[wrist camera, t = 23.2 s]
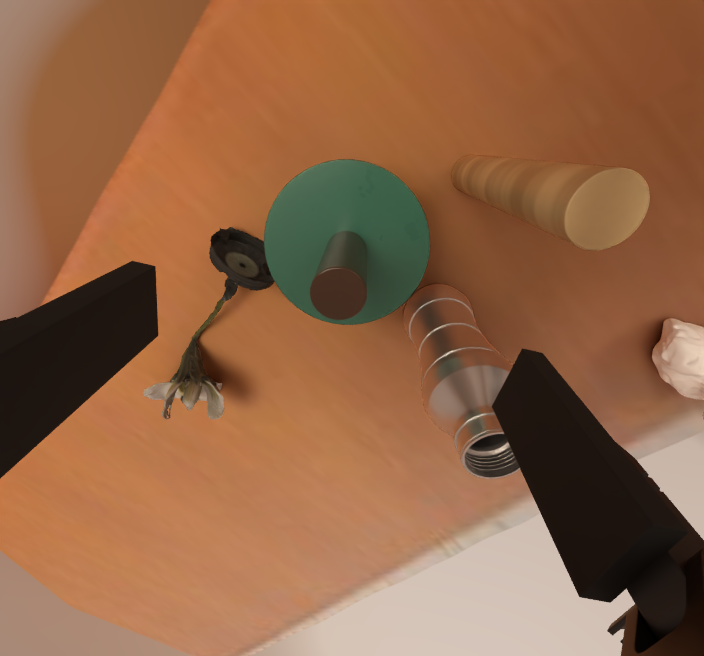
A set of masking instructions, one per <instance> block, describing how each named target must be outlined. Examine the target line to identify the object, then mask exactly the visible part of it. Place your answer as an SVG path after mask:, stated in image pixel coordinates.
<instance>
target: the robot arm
mask: <svg viewBox="0 0 704 656" xmlns="http://www.w3.org/2000/svg"><path fill="white" fill-rule="evenodd" d="M157 336H158V318H157V294H156V271H155V266H152V265H148V264H143V263H139V262H135V261H131V262H129V263H127V264H125V265H123V266H121V267H119V268H117V269H115V270H113V271H111V272H109V273H107V274H105V275H103V276H101V277H99V278H97V279H95V280H93V281H91V282H89V283H87V284H85V285H83V286H81V287H79V288H77V289H75V290H73V291H71V292H69V293H67V294H65V295H63V296H60V297H58V298H56V299H54V300H52V301H50V302H48V303H46V304H44V305H42V306H40V307H38V308H36V309H34V310H32V311H30V312H28V313H26V314H24V315H22V316H20V317H18V318H16V317H14V318H11V319H7V320H3V321H0V478H1V477H2V476H4V475H5V474H6V473H7V472H8V471H9V470H10V469H11V468H12V467H14V466H15V465H16V464H17V463H18V462H19V461H20V460H21V459H22V458H23V457H25V456H26V455H27V454H28V453H29V452H30V451H31V450H32V449H33V448H34V447H36V446H37V445H38V444H39V443H40V442H41V441H42V440H43V439H44V438H46V437H47V436H48V435H49V434H50V433H51V432H52V431H53V430H54V429H55V428H57V427H58V426H59V425H60V424H61V423H62V422H63V421H64V420H65V419H67V418H68V417H69V416H70V415H71V414H72V413H73V412H74V411H75V410H76V409H78V408H79V407H80V406H81V405H82V404H83V403H84V402H85V401H86V400H88V399H89V398H90V397H91V396H92V395H93V394H94V393H95V392H96V391H97V390H99V389H100V388H101V387H102V386H103V385H104V384H105V383H106V382H107V381H108V380H110V379H111V378H112V377H113V376H114V375H115V374H116V373H117V372H118V371H120V370H121V369H122V368H123V367H124V366H125V365H126V364H127V363H128V362H129V361H131V360H132V359H133V358H134V357H135V356H136V355H137V354H138V353H139V352H141V351H142V350H143V349H144V348H145V347H146V346H147V345H148V344H149V343H150V342H152V341H153V340H154V339H155V338H156V337H157ZM492 408H493V411H494V413H495V415H496V417H497V419H498V421H499V424H500V426H501V428H502V430H503V432H504V434H505V437H506V439H507V441H508V443H509V445H510V447H511V450H512V452H513V454H514V456H515V458H516V460H517V463H518V465H519V467H520V469H521V471H522V473H523V476H524V478H525V480H526V482H527V484H528V486H529V489H530V491H531V493H532V495H533V497H534V500H535V502H536V504H537V506H538V508H539V510H540V513H541V515H542V517H543V519H544V521H545V523H546V526H547V528H548V530H549V532H550V534H551V536H552V538H553V541H554V543H555V545H556V547H557V549H558V552H559V554H560V556H561V558H562V560H563V562H564V565H565V567H566V569H567V571H568V573H569V575H570V577H571V580H572V582H573V584H574V586H575V589H576V590H577V593H578V595H579V597H582V598H588V599H593V600H599V601H604V602H612V601H613V600H614V599H615V598H616V597H617V596H618V595H619V594H621V593H622V592H623V591H624V590H625V589H626V588H627V590H628V592H629V594H630V595H631V597H632V599H633V600H634V602H635V605H634V606H632V607H631V608H630V609H629V610H628V611H626V612H625V613H624V614H623V615H622V616H620V617H619V618H618V619H617V620H616V621H614V622H613V623H612V624H611V625H610V627H609V629H608V632H609V633H610V634H612V635H614V634H615V633H616V632H617V631H619V630H620V629H625V630H624V637H623V639H622V640H621V643H622V644H623V645H622V652H621V656H704V540H703V539H702V538H701V537H700V535H699V534H698V533H697V532H696V531H695V530H694V528H693V527H692V526H691V525H690V523H689V522H688V521H687V520H686V519H685V518H684V516H683V515H682V514H681V513H680V512H679V510H678V509H677V508H676V507H675V506H674V504H673V503H672V502H671V501H670V500H669V499H668V497H667V496H666V495H665V494H664V492H661V491H660V488H659V487H658V485H657V484H656V483H655V482H654V481H653V479H652V478H650V477H648V474H647V472H646V471H645V470H644V469H643V468H642V466H641V465H640V464H639V463H638V462H637V460H636V459H635V458H634V457H633V456H632V455H630V454H629V453H628V452H627V451H626V450H624V449H623V448H622V447H621V446H620V445H618V444H617V443H616V442H615V441H614V440H613V439H612V437H611V436H610V435H609V434H608V433H607V431H606V430H605V429H604V428H603V426H602V425H601V424H600V423H599V422H598V420H597V419H596V418H595V417H594V415H593V414H592V413H591V412H590V411H589V409H588V408H587V407H586V406H585V404H584V403H583V402H582V401H581V400H580V398H579V397H578V396H577V395H576V394H575V392H574V391H573V390H572V389H571V387H570V386H569V385H568V384H567V383H566V381H565V380H564V379H563V378H562V376H561V375H560V374H559V373H558V372H557V370H556V369H555V368H554V367H553V365H552V364H551V363H550V362H549V361H548V359H547V358H546V357H545V356H544V354H543V353H540V352H536V351H531V350H527V349H522V350H521V352H520V354H519V356H518V358H517V360H516V361H515V363H514V365H513V367H512V369H511V371H510V373H509V375H508V376H507V378H506V380H505V382H504V384H503V386H502V388H501V390H500V391H499V393H498V395H497V397H496V399H495V401H494V403H493V405H492Z"/></svg>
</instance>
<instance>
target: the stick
mask: <svg viewBox="0 0 704 656" xmlns="http://www.w3.org/2000/svg"><path fill="white" fill-rule="evenodd" d="M451 178H452V182H453V185H454V186H455V187H456V188H457V189H458V190H460V191H462V192H464V193H466V194H468V195H470V196H472V197H474V198H476V199H478V200H481V201H483V202H485V203H487V204H489V205H491V206H493V207H495V208H497V209H499V210H501V211H504V212H506V213H508V214H510V215H512V216H514V217H516V218H518V219H520V220H522V221H524V222H527V223H529V224H531V225H533V226H535V227H537V228H539V229H541V230H543V231H545V232H547V233H550V234H552V235H554V236H556V237H558V238H560V239H562V240H564V241H566V242H568V243H570V244H573V245H575V246H577V247H579V248H581V249H584V250H590V251H597V250H603V249H608V248H610V247H613V246H615V245H617V244H619V243H621V242H623V241H624V240H625V239H627V238H628V237H629V236H630V235H631V234H633V232H634V231H635V230H636V229H637V228H638V227H639V225H640V224H641V223H642V221H643V219H644V217H645V215H646V213H647V210H648V207H649V202H650V192H649V187H648V185H647V183H646V181H645V179H644V178H643V177H642V176H641V175H640V174H639V173H638V172H636V171H634V170H632V169H629V168H623V167H611V166H599V165H588V164H576V163H564V162H552V161H540V160H528V159H516V158H505V157H493V156H481V155H467V156H464V157H462V158H461V159H459V160H458V161H457V162H456V164H455V165H454V167H453V170H452V174H451Z"/></svg>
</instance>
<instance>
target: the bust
mask: <svg viewBox="0 0 704 656" xmlns="http://www.w3.org/2000/svg"><path fill="white" fill-rule="evenodd" d="M652 359H653V362H654V364H655V365H656V367H657V369H658V372H659V375H660V377H661V378H662V379H663V380H664V381H665V382H667V383H669V384H670V385H671V386H673V387H674V388H675V389H676V390H677V391H678V393H680V394H681V395H683V396H685V397H688V398H693V399H702V400H704V327H702V326H698V325H695V324H692V323H684V322H682V321H680V320H677V319H673V318H669V319H666V320H665V321H664V323H663V329H662V336H661V339H660V341H659V342H658V343H657V344H656V345H655V347H654V349H653V352H652ZM703 419H704V412H703Z"/></svg>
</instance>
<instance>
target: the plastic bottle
mask: <svg viewBox="0 0 704 656" xmlns="http://www.w3.org/2000/svg"><path fill="white" fill-rule="evenodd" d="M403 324H404V328H405V331H406V333H407V335H408V336H409V338H410V339H411V341H412V342H413V344H414V345H415V348H416V350H417V352H418V354H419V360H420V366H421V387H422V389H421V391H422V399H423V406H424V408H425V411H426V412H427V414H428V415H429V417H430V418H431V419H432V421H433V422H434V423H435V424H436V425H437V426H438V427H439V428H440V429H441V430H443V431H445V432H446V433H448V434H449V435H451V436H453V440H454V444H455V447H456V449H457V450H458V452H459V455H460V459H461V462H462V464H463V466H464V468H465V469H466V470H467V471H468V472H469V473H470V474H472V475H474V476H476V477H479V478H485V479H497V478H502V477H506V476H509V475H512V474H514V473H515V472H517V471H519V470H520V467H519V465H518V463H517V460H516V458H515V456H514V454H513V452H512V450H511V447H510V445H509V443H508V441H507V439H506V437H505V434H504V432H503V430H502V428H501V426H500V424H499V421H498V419H497V417H496V415H495V413H494V411H493V408H492V405H493V403H494V401H495V399H496V397H497V395H498V393H499V391H500V390H501V388H502V386H503V384H504V382H505V380H506V378H507V376H508V375H509V373H510V371H511V369H512V367H513V366H512V365H511V363H510V362H509V361H508V360H507V359H506V358H505V357H504V356H503V355H502V354H500V353H499V352H498V351H497V350H496V349H495V348H494V347H493V346H492V345H491V344H490V343H489V342H488V341H487V339H486V338H485V337H484V336H483V334H482V333H481V332H480V330H479V328H478V326H477V324H476V321H475V319H474V314H473V310H472V307H471V304H470V302H469V300H468V298H467V297H466V296H465V295H464V294H463V293H461V292H460V291H458V290H457V289H455V288H454V287H451V286H449V285H445V284H433V285H428V286H426V287H423V288H421V289H419V290H418V291H416V292H415V293H414V294H413V295H412V296H411V297H410V298H409V300H408V302H407V303H406V306H405V309H404V316H403Z"/></svg>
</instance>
